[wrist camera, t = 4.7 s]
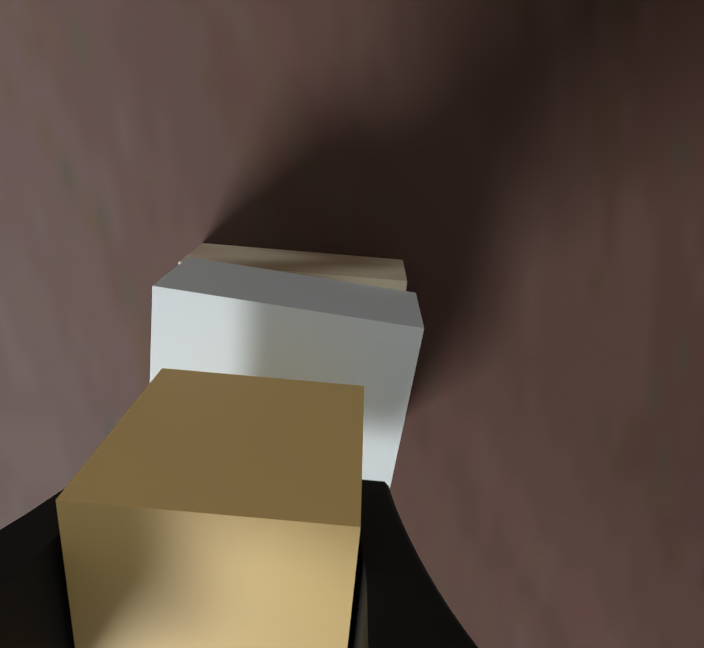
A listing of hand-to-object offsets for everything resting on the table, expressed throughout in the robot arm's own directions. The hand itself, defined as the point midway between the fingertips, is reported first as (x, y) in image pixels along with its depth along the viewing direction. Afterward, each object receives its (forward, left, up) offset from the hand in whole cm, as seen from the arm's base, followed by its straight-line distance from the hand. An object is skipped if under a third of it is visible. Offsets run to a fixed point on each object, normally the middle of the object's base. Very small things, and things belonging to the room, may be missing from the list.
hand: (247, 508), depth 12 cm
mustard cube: (0, 0, -2) cm, 2 cm away
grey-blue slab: (0, 0, -7) cm, 7 cm away
